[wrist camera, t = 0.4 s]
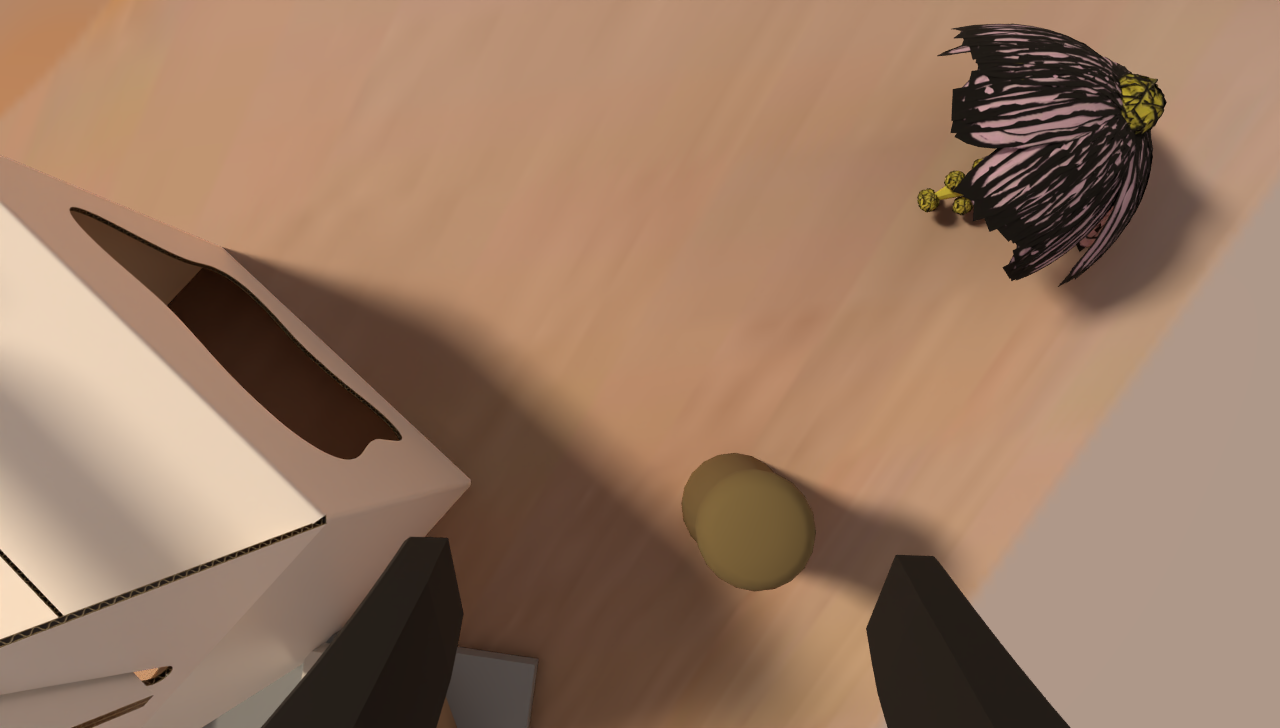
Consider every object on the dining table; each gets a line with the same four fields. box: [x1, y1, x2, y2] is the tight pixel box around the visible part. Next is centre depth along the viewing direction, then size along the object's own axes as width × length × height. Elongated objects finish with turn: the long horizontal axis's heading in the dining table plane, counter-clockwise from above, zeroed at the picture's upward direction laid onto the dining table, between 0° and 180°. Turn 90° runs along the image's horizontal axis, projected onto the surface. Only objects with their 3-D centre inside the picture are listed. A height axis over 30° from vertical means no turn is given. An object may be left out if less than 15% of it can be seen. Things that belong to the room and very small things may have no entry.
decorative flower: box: [917, 24, 1167, 287], centre depth 36 cm, size 15×12×15 cm
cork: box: [682, 453, 816, 591], centre depth 33 cm, size 6×6×11 cm
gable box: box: [0, 155, 471, 728], centre depth 27 cm, size 22×13×28 cm, turn 48°
